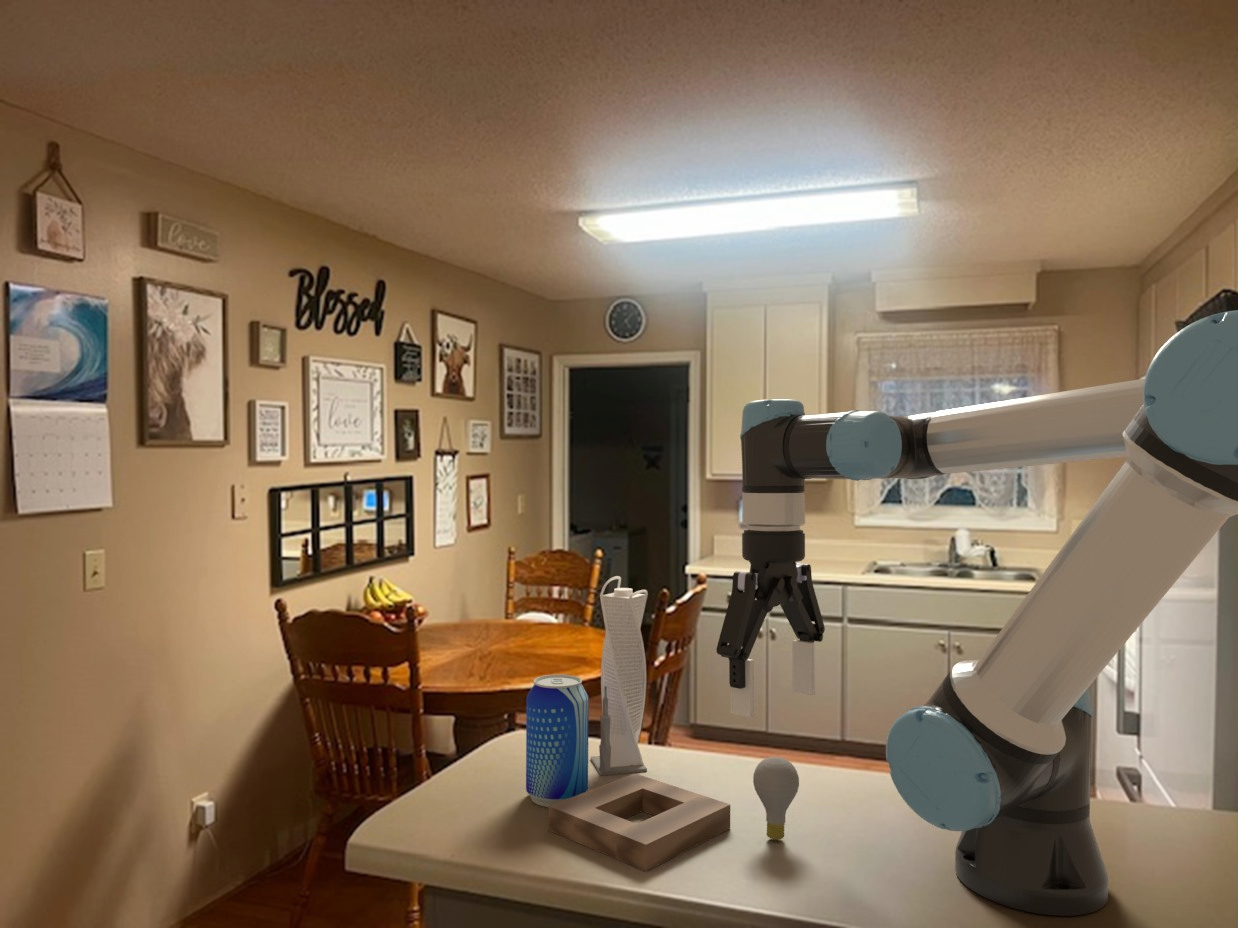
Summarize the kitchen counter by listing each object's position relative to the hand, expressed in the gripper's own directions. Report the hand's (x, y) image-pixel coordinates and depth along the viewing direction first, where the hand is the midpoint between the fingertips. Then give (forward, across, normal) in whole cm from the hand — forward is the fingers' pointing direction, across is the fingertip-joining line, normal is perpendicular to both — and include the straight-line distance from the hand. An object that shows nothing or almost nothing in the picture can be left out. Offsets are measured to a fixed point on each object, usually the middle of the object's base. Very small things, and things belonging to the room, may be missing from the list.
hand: (774, 703), depth 107 cm
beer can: (+16, +9, -29) cm, 34 cm away
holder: (+16, +9, -14) cm, 23 cm away
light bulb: (+17, 0, 0) cm, 17 cm away
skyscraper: (+16, -7, -32) cm, 37 cm away
